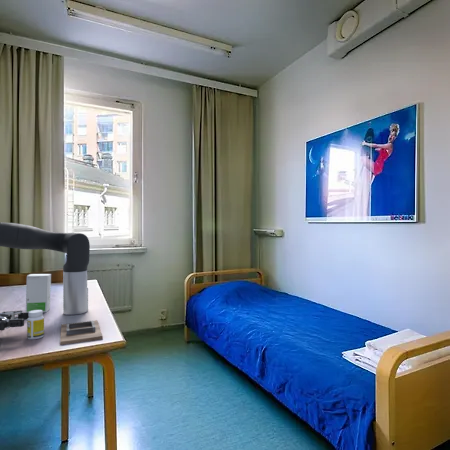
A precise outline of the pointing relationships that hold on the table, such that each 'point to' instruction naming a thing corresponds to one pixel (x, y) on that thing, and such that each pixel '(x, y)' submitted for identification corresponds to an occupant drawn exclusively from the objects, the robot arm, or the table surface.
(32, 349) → the table surface
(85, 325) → the seat board
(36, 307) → the skincare box
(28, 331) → the supplement bottle
